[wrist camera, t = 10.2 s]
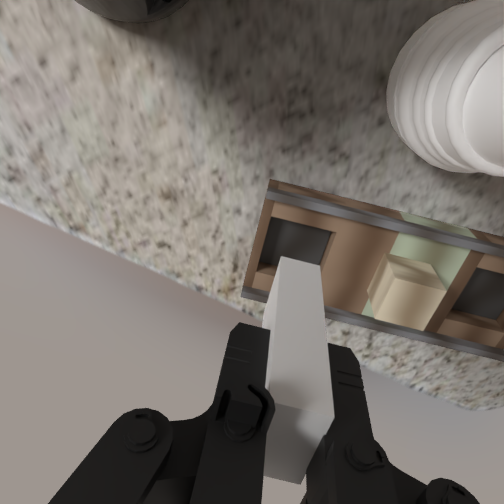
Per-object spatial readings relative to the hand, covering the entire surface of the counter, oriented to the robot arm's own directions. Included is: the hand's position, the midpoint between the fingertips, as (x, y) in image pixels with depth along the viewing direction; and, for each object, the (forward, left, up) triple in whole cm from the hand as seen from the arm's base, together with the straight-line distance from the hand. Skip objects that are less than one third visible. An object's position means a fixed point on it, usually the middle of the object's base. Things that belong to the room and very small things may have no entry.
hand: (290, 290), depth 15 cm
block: (+15, -11, -24) cm, 30 cm away
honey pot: (+13, +8, -27) cm, 31 cm away
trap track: (+14, -11, -26) cm, 32 cm away
